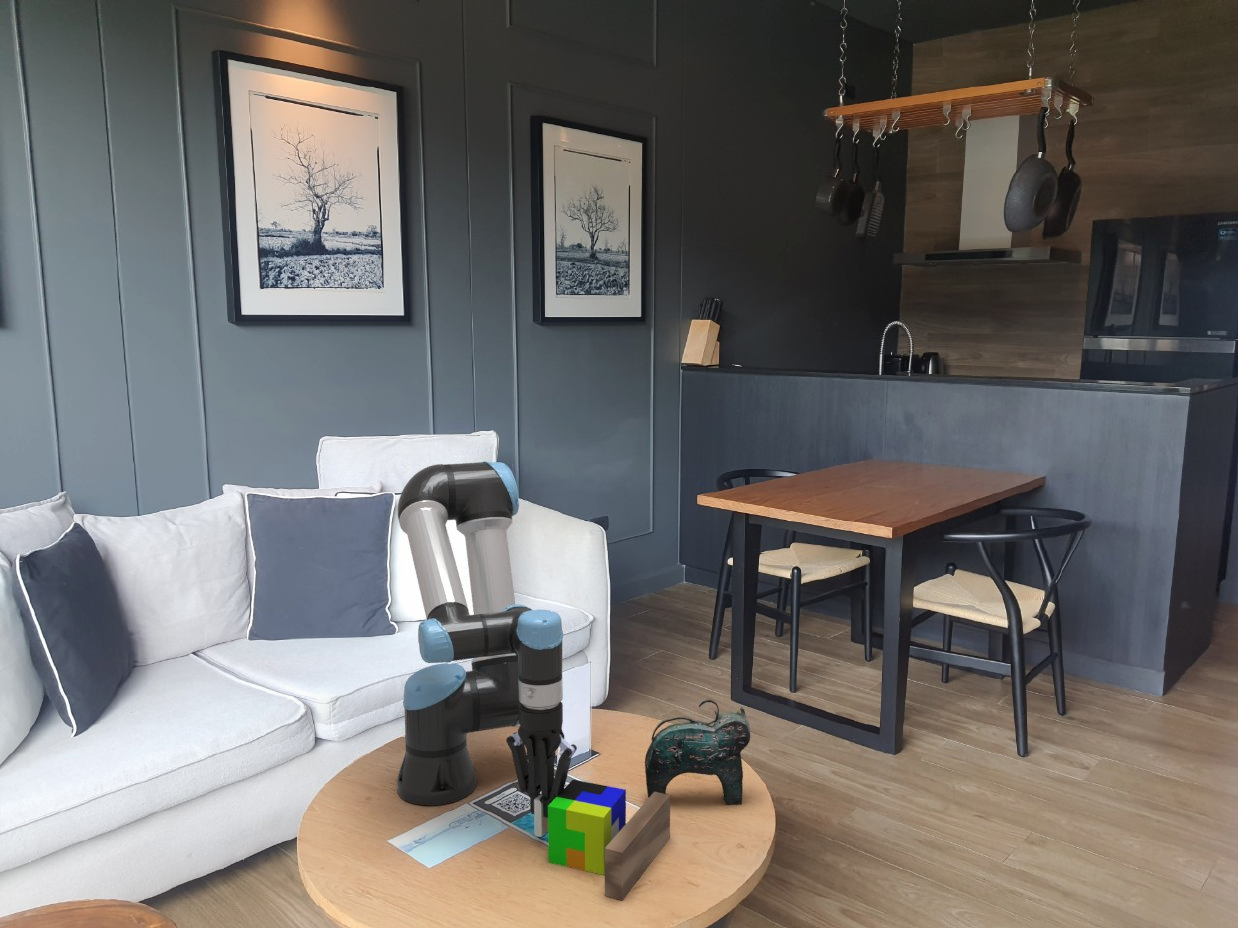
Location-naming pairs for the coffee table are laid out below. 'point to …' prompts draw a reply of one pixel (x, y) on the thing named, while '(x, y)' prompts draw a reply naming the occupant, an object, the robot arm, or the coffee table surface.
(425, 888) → the coffee table surface
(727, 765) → the ceramic cat
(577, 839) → the puzzle toy
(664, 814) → the walnut board
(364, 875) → the coffee table surface
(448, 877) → the coffee table surface
